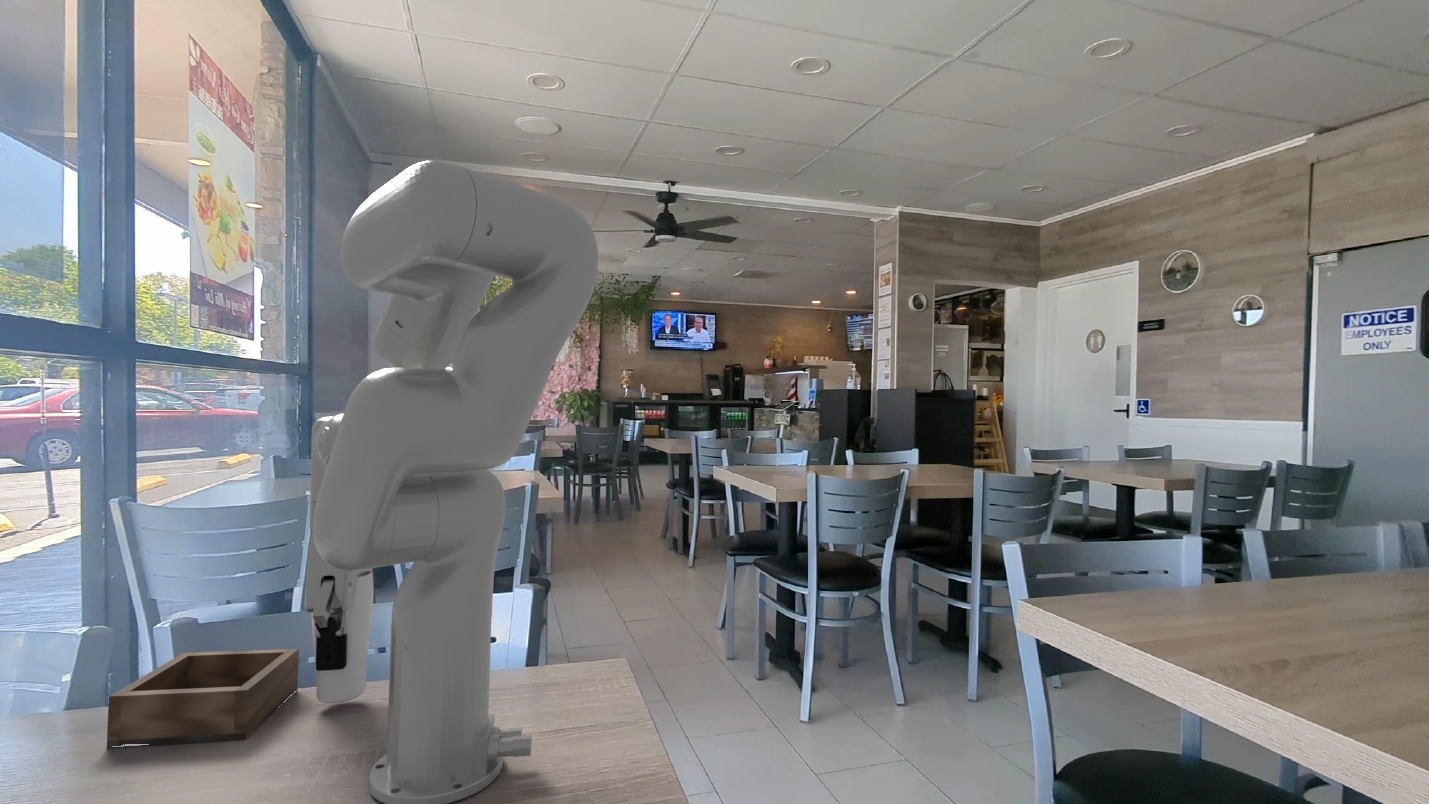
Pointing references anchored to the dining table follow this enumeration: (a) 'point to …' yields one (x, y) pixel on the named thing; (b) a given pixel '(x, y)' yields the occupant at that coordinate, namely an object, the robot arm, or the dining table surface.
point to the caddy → (203, 698)
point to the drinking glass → (349, 648)
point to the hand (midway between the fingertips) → (341, 658)
